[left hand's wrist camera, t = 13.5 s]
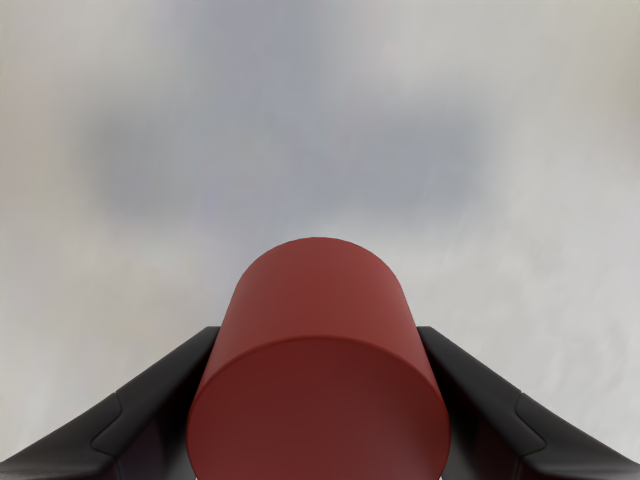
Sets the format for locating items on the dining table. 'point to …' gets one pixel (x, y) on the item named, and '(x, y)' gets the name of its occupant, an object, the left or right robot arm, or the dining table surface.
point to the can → (318, 375)
